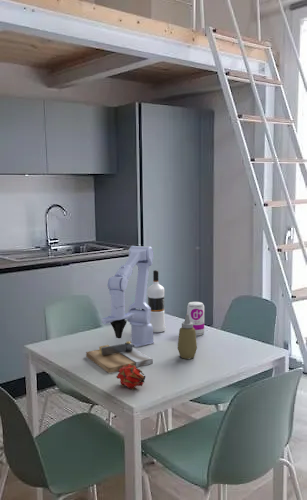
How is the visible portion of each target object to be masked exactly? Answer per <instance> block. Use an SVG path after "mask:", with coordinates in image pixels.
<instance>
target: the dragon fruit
mask: <svg viewBox="0 0 307 500" xmlns="http://www.w3.org/2000/svg"><path fill="white" fill-rule="evenodd" d="M115 378H116V379H117V380H118V379H119V380H120V381H119V383H120V384H121V387H122V388H124V387H125V386H126V387H127V388H128V389H130V390H135V391H136V390H138V388H137V387H143V384H144V383H145V379H146V375H145V374H144V373H143V371H142V370H141V369H139V368H138V367H136V366H135V365H131V364H126V365H123V366H122V367H121V368H120V369H119V371H118V373H117V375H116V377H115Z"/></svg>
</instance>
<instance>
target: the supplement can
mask: <svg viewBox="0 0 307 500" xmlns="http://www.w3.org/2000/svg"><path fill="white" fill-rule="evenodd" d="M186 314H189V318H190V322H192V323H193V328H194V329H195V332H196V337H200V336H203V335H204V334H205V305H204V303H203V302H201V301H190V302H188V303H187V306H186Z"/></svg>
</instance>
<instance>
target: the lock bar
mask: <svg viewBox="0 0 307 500" xmlns="http://www.w3.org/2000/svg"><path fill="white" fill-rule="evenodd" d="M133 348H134V345H133V343H132V342H131V340H128V341H127V340H126V342H125V343H120V344H114V345H109V346H107V347H102V348H101V351H102V355H108V354H114V353H119V352H125V351H132V350H133Z"/></svg>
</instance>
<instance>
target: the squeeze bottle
mask: <svg viewBox="0 0 307 500" xmlns="http://www.w3.org/2000/svg"><path fill="white" fill-rule="evenodd" d="M178 331H179V332H178V342H177V351H178V354H179V356H180V358H182V359H186V360H188V359H189V360H191V359H193V358H195V356H196V352H197V349H198V343H197V336H196V332H195V329H194V328H193V323H192V322H190V318H189V314H187V313H186V314H185V317H184V321H182V323H181V327H180V328H179V330H178Z"/></svg>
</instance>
